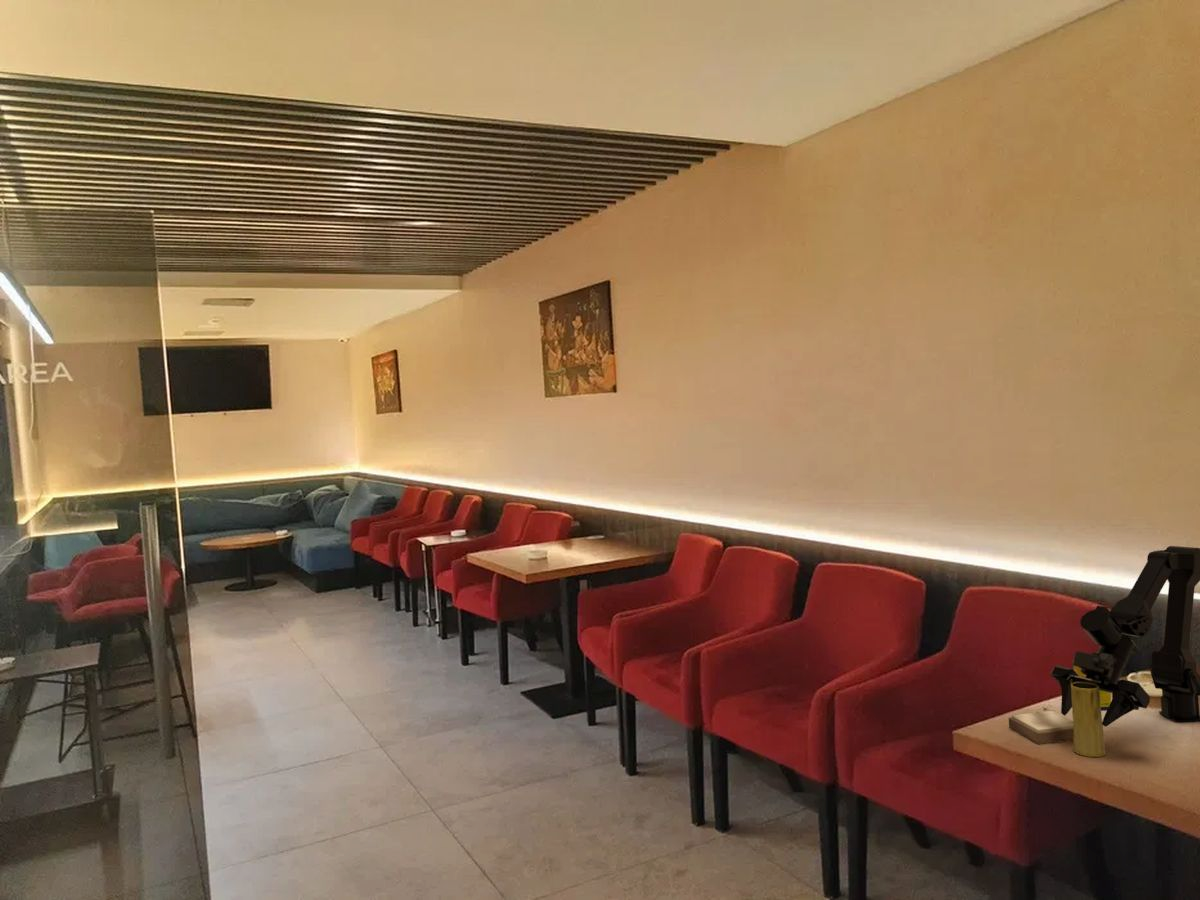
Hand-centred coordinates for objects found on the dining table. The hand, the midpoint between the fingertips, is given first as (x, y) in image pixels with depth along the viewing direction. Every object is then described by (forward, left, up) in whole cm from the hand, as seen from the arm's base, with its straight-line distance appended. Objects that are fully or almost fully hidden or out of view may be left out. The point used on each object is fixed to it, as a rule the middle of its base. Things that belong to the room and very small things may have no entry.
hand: (1083, 719), depth 179 cm
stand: (+2, -13, -7) cm, 15 cm away
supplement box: (-17, -28, -7) cm, 33 cm away
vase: (-1, -1, -7) cm, 8 cm away
